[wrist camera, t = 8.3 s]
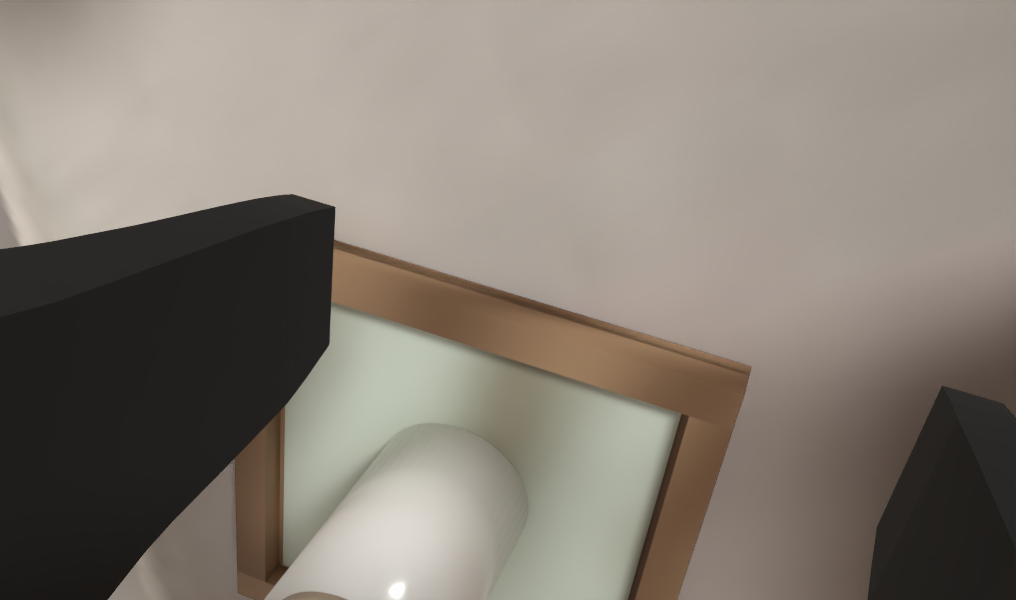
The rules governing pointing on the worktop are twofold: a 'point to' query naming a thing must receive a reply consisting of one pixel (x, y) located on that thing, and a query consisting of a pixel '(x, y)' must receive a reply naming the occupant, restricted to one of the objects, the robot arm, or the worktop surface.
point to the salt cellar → (416, 524)
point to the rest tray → (500, 429)
